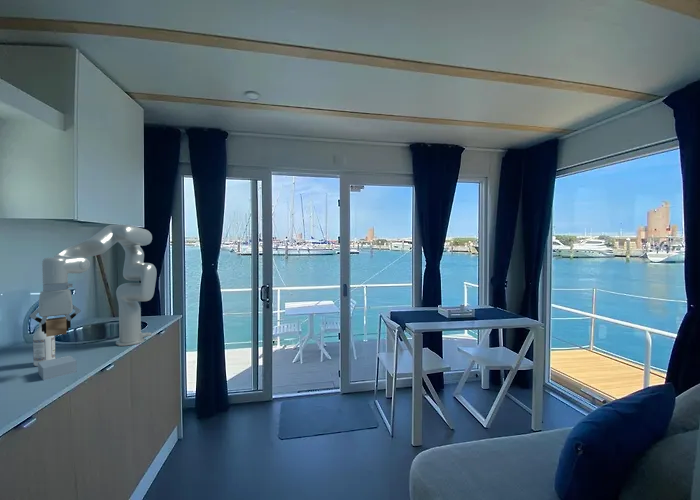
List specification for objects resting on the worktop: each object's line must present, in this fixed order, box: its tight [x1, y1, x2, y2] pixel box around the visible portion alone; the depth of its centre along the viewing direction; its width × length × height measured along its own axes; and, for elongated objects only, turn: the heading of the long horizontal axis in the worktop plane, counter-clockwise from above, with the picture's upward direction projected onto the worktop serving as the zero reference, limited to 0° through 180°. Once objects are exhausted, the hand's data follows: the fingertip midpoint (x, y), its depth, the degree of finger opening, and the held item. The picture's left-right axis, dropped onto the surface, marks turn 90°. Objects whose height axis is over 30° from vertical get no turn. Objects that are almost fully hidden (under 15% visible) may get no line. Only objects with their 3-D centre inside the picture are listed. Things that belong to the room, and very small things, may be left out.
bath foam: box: [32, 317, 56, 367], centre depth 141 cm, size 7×7×20 cm
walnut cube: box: [46, 316, 68, 337], centre depth 131 cm, size 6×6×6 cm
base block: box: [37, 354, 78, 381], centre depth 131 cm, size 10×10×5 cm
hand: (56, 331), depth 131 cm, fingers closed on walnut cube, 6 cm apart
